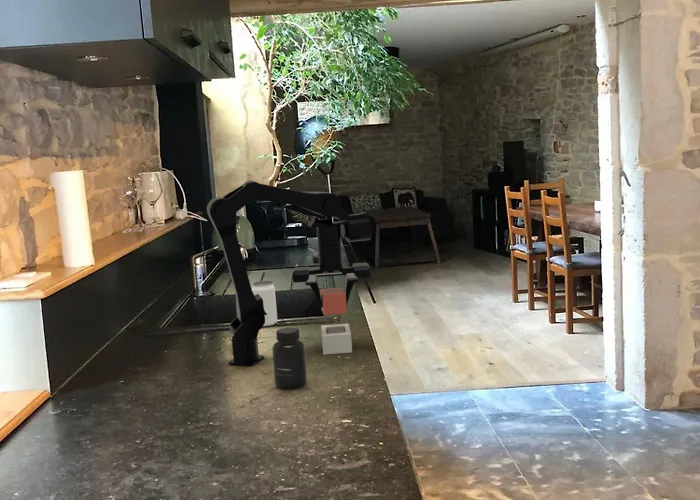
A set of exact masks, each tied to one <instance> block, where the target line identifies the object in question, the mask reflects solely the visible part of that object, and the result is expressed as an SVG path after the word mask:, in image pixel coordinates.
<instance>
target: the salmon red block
mask: <svg viewBox="0 0 700 500" xmlns="http://www.w3.org/2000/svg"><path fill="white" fill-rule="evenodd" d="M319 290H320V295H321V300H322V308H320V309H321V312H322V314H323V315H324V316H331V315H332V316H333V315H341V314H343V315H344V314H348V312H347V310H348V308H347V306H346V293H345V289H343V287H342V286H340V287H339V286H338V287H331V288H330V287H329V288H328V287H327V288H319Z"/></svg>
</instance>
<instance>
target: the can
mask: <svg viewBox="0 0 700 500" xmlns="http://www.w3.org/2000/svg"><path fill="white" fill-rule="evenodd" d="M251 289H252V292H253V294H254V296H255V295H257V294H259V295H260V297H261V298H262V299H263V305H264V310H265V312H266V313H267V315H264V316H265V324H264V325H263V327H270V326H275V325H276V324H277V323H278V312H277V311H278V309H277V301H276V291H275V289H276V288H275V286H274V284H273V281H272V280H259V281H255V282H253V283H252V287H251ZM275 323H276V324H275Z"/></svg>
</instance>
